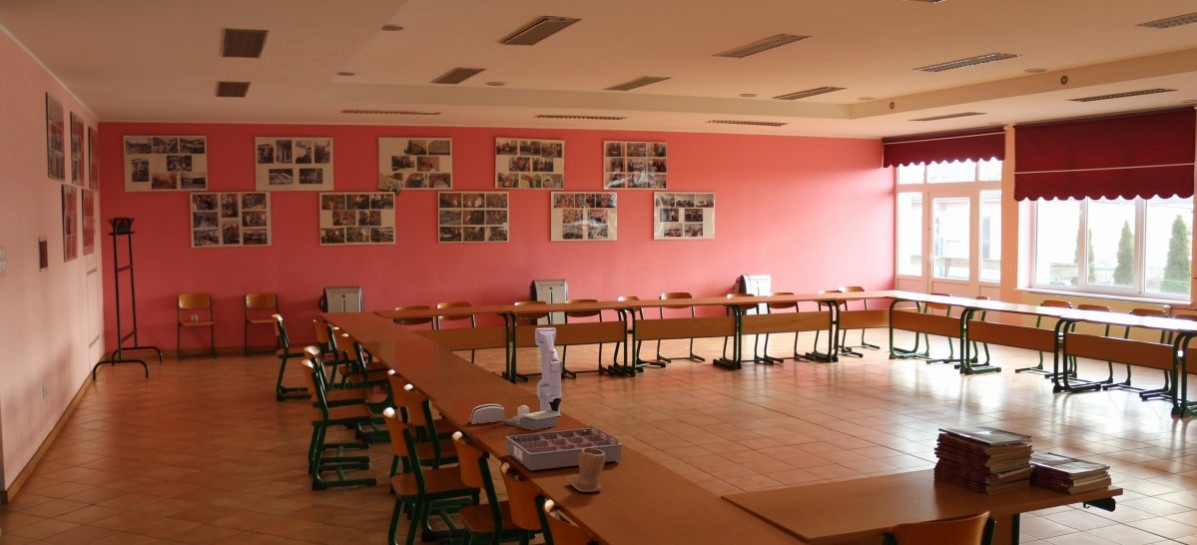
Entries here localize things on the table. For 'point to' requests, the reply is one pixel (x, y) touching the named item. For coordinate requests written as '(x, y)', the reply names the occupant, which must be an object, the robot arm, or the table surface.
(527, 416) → the lid
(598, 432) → the organizer tray
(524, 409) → the cube with dome top
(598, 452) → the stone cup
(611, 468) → the table surface
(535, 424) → the housing
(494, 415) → the white speaker
